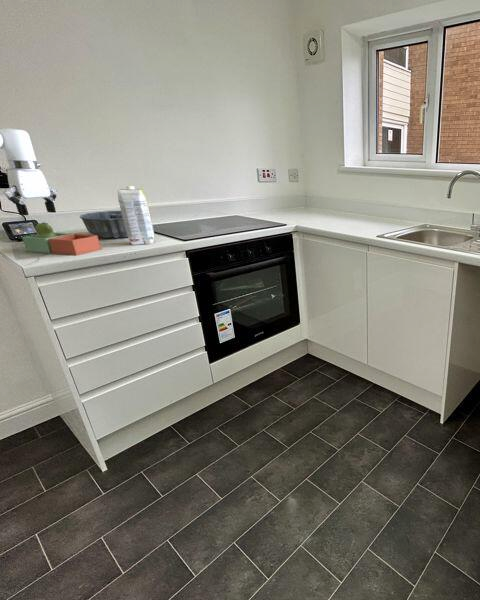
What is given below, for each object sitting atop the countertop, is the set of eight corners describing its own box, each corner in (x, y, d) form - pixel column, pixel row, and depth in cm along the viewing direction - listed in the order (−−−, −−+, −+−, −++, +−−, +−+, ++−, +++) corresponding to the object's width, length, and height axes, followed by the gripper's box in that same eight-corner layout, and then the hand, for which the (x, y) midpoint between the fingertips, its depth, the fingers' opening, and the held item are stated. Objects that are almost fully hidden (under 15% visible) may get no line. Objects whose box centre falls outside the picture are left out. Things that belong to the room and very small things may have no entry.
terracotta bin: (76, 255, 133) (72, 240, 131) (53, 253, 134) (48, 238, 132) (101, 249, 142) (97, 235, 140) (79, 247, 144) (74, 234, 142)
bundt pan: (161, 236, 169) (156, 215, 165) (90, 243, 151) (84, 220, 147) (146, 228, 185) (142, 209, 182) (81, 234, 167) (75, 212, 164)
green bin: (50, 253, 134) (45, 238, 132) (26, 251, 135) (21, 237, 133) (76, 247, 144) (72, 233, 142) (54, 245, 145) (49, 232, 143)
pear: (62, 246, 142) (54, 221, 139) (56, 249, 138) (48, 223, 134) (45, 246, 140) (36, 221, 137) (38, 249, 136) (29, 224, 132)
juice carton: (156, 240, 160) (144, 185, 151) (155, 244, 154) (142, 187, 145) (131, 242, 156) (117, 185, 147) (128, 245, 149) (113, 187, 140)
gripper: (40, 166, 137) (53, 210, 142) (-14, 165, 120) (3, 215, 126) (57, 166, 136) (69, 211, 142) (4, 166, 120) (21, 216, 126)
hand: (38, 213), depth 134 cm, fingers open, 9 cm apart
